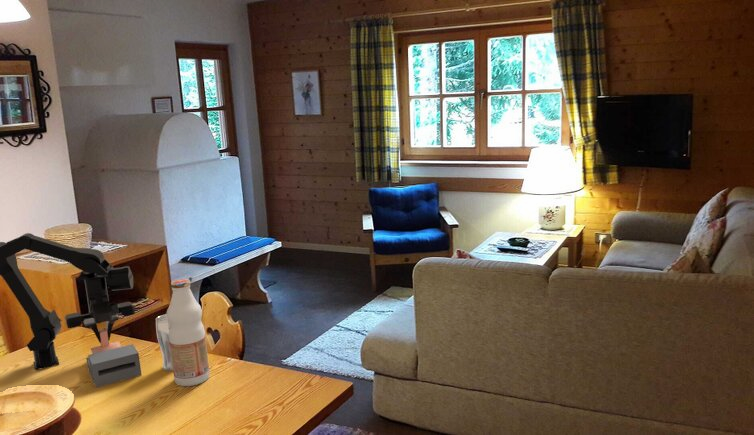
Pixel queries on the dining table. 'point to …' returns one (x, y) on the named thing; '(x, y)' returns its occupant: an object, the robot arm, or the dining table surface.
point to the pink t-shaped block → (105, 343)
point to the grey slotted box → (114, 365)
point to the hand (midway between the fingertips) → (104, 341)
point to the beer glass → (164, 341)
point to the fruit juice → (187, 336)
